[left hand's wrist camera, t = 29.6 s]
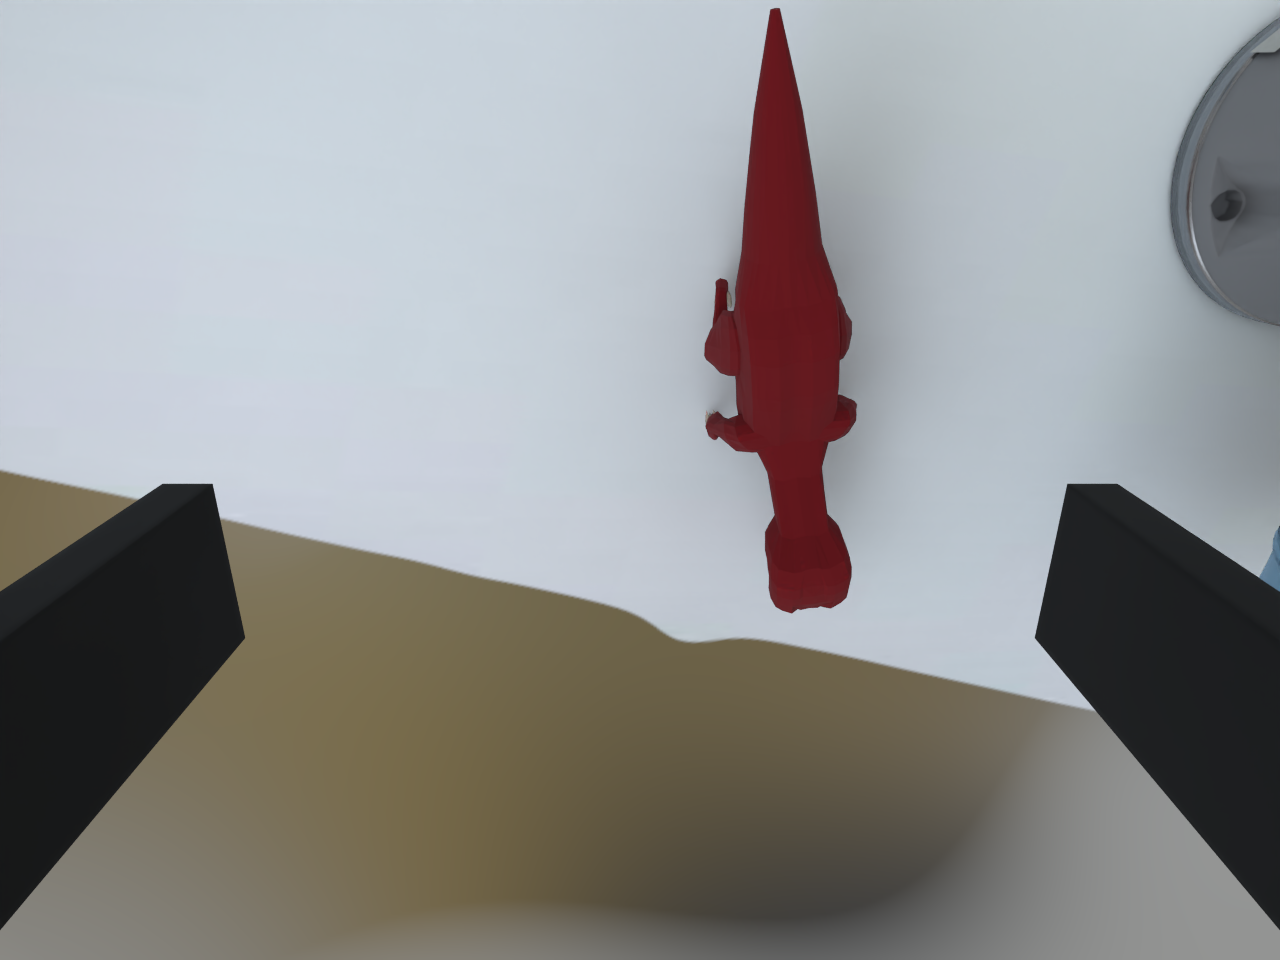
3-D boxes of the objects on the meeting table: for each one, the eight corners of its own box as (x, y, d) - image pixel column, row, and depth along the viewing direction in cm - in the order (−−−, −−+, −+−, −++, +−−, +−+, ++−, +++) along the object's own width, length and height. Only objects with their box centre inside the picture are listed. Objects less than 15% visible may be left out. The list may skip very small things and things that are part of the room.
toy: (718, 553, 47) (740, 671, 37) (654, 45, 36) (663, 26, 26) (842, 536, 47) (897, 651, 37) (818, 17, 35) (889, -13, 26)
